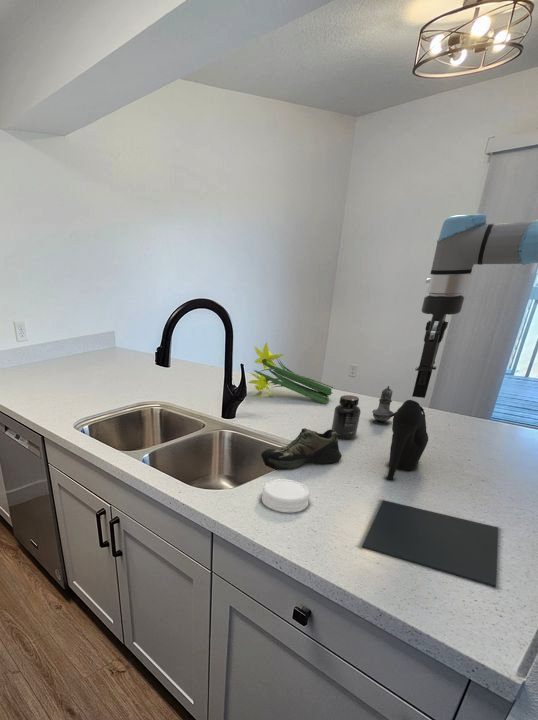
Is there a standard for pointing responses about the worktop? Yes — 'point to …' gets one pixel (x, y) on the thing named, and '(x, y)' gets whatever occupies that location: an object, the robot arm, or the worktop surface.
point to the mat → (435, 541)
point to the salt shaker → (383, 408)
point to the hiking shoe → (304, 451)
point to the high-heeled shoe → (407, 438)
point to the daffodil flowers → (266, 358)
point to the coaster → (285, 495)
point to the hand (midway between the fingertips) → (418, 396)
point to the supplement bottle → (346, 417)
